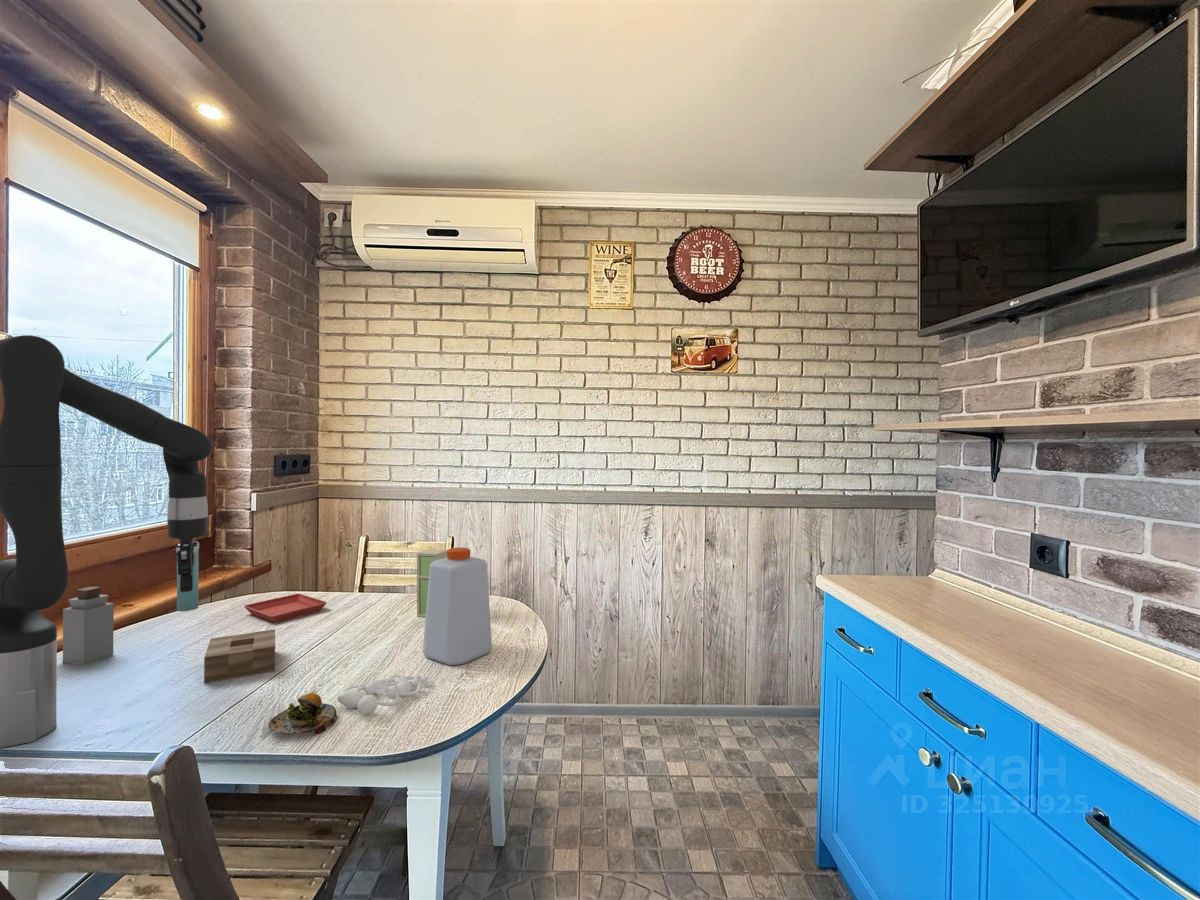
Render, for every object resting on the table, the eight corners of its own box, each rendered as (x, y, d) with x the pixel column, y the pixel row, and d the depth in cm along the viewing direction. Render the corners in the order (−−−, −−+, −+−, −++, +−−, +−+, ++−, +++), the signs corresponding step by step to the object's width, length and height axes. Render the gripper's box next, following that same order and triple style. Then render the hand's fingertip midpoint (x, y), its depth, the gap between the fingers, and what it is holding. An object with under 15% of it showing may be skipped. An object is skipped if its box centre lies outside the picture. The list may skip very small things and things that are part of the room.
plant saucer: (328, 611, 179) (328, 601, 179) (271, 626, 164) (271, 615, 164) (298, 602, 189) (298, 593, 189) (242, 615, 174) (242, 605, 174)
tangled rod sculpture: (404, 678, 131) (403, 661, 132) (444, 688, 123) (443, 670, 124) (327, 708, 115) (327, 688, 115) (367, 721, 107) (367, 700, 107)
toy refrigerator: (414, 617, 173) (415, 552, 173) (428, 610, 180) (428, 548, 180) (436, 619, 171) (436, 554, 171) (448, 613, 178) (449, 549, 178)
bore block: (274, 670, 131) (275, 646, 131) (204, 683, 124) (204, 657, 124) (275, 651, 143) (275, 629, 143) (210, 662, 136) (210, 638, 136)
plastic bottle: (498, 650, 146) (499, 548, 146) (455, 669, 133) (456, 557, 133) (460, 639, 154) (460, 542, 154) (416, 656, 141) (416, 550, 141)
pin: (197, 609, 125) (197, 546, 125) (175, 612, 123) (175, 547, 123) (199, 605, 129) (199, 543, 128) (178, 607, 127) (178, 544, 126)
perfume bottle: (83, 664, 133) (84, 592, 133) (62, 662, 135) (63, 591, 135) (113, 654, 140) (113, 586, 140) (92, 652, 141) (93, 584, 141)
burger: (261, 725, 107) (262, 687, 107) (325, 705, 115) (325, 670, 115) (278, 750, 98) (278, 709, 98) (345, 726, 106) (346, 689, 106)
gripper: (204, 518, 121) (204, 594, 122) (210, 511, 134) (210, 580, 134) (162, 521, 118) (162, 599, 118) (172, 513, 130) (172, 584, 130)
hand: (187, 588), depth 126 cm, fingers closed on pin, 4 cm apart
